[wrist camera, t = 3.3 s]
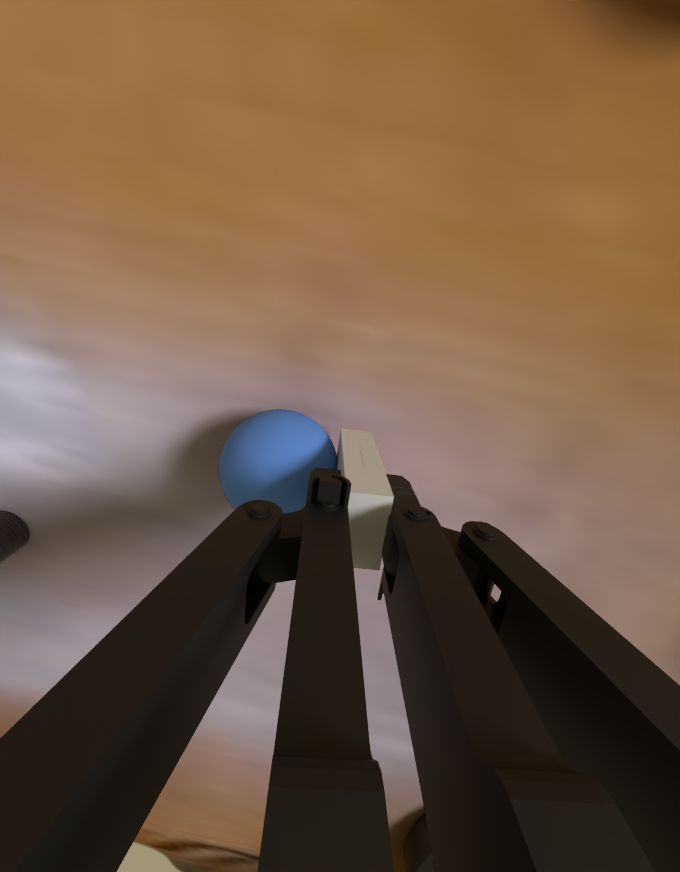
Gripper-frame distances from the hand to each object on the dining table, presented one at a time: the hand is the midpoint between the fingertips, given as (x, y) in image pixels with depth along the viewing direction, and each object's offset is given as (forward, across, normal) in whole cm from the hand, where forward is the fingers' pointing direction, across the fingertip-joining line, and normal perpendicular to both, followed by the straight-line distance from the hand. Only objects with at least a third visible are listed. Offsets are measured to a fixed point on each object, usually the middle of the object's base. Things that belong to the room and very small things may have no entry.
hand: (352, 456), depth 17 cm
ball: (0, +3, +1) cm, 4 cm away
